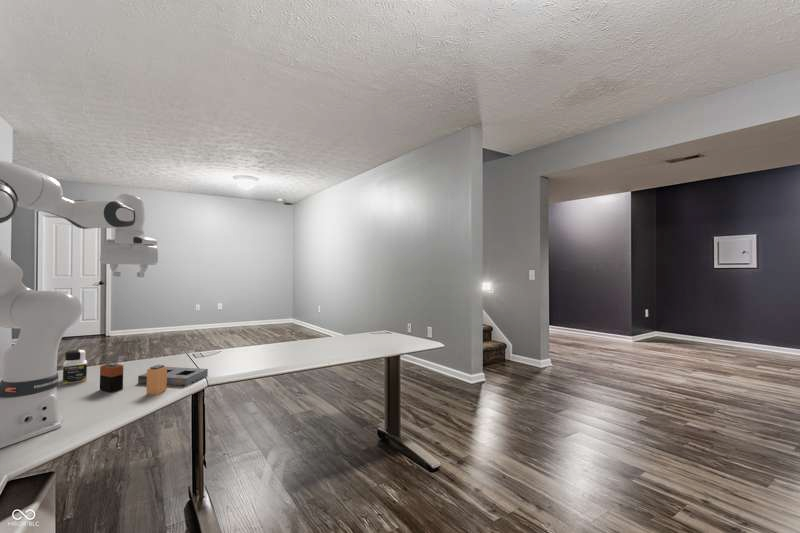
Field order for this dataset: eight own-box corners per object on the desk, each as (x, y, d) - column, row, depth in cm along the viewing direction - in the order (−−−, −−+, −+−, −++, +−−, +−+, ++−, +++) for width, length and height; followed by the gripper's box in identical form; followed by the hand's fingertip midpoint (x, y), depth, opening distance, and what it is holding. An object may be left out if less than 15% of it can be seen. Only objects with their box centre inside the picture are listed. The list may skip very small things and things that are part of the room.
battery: (111, 392, 136) (111, 365, 136) (98, 390, 138) (99, 363, 138) (123, 389, 140) (124, 362, 140) (111, 386, 142) (112, 360, 142)
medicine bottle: (62, 384, 144) (63, 353, 144) (63, 379, 149) (63, 350, 149) (86, 381, 149) (87, 351, 149) (86, 376, 154) (87, 347, 154)
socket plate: (186, 386, 145) (186, 378, 145) (138, 383, 147) (138, 376, 147) (207, 375, 159) (207, 368, 159) (163, 373, 161) (163, 366, 161)
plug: (156, 394, 135) (157, 368, 135) (146, 394, 135) (147, 367, 135) (166, 390, 140) (167, 364, 140) (156, 389, 140) (157, 364, 140)
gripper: (95, 238, 136) (94, 276, 135) (148, 239, 134) (147, 277, 134) (110, 239, 142) (109, 276, 142) (161, 240, 140) (160, 277, 140)
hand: (128, 276), depth 138 cm, fingers open, 8 cm apart
